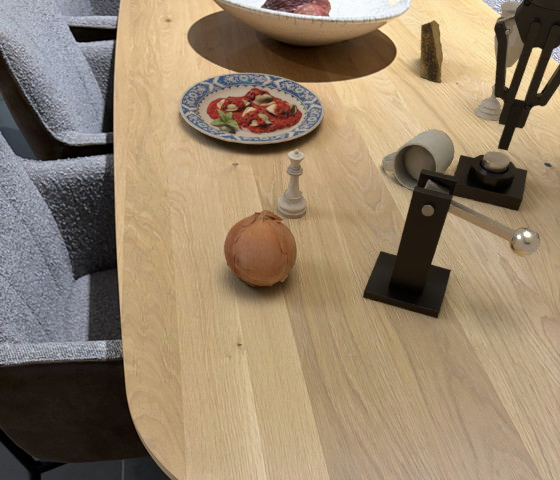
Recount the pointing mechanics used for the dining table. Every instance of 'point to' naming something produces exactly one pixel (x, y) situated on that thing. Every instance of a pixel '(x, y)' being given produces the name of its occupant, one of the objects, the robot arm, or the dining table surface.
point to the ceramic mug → (420, 157)
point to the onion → (260, 249)
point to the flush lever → (494, 225)
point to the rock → (431, 51)
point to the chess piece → (293, 189)
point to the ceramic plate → (251, 108)
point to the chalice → (491, 105)
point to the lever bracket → (416, 253)
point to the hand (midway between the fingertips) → (503, 145)
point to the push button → (495, 162)
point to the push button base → (490, 183)
